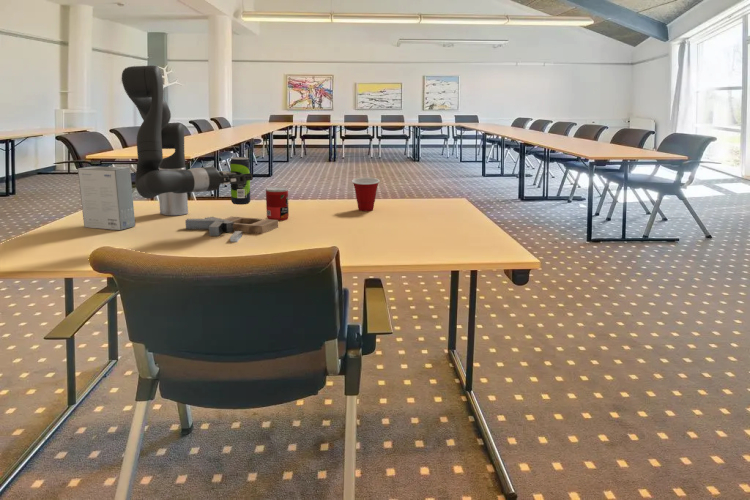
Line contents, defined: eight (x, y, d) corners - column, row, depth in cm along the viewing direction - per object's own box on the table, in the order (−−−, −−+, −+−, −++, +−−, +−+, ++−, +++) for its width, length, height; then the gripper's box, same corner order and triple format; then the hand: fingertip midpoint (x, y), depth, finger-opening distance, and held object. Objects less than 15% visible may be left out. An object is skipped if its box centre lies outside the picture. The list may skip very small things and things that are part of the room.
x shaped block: (213, 237, 199) (212, 227, 198) (182, 228, 211) (182, 219, 210) (239, 232, 206) (239, 223, 205) (208, 224, 218) (208, 215, 217)
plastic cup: (348, 211, 243) (348, 180, 240) (355, 206, 253) (355, 177, 250) (376, 213, 241) (376, 181, 238) (382, 208, 251) (382, 178, 248)
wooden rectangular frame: (214, 229, 209) (213, 222, 209) (231, 223, 219) (231, 216, 219) (262, 233, 204) (262, 226, 203) (278, 227, 214) (277, 220, 213)
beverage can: (254, 202, 211) (253, 157, 207) (242, 205, 205) (241, 159, 201) (238, 201, 213) (237, 156, 209) (227, 203, 208) (225, 158, 204)
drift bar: (236, 237, 200) (235, 231, 200) (242, 237, 200) (242, 231, 200) (230, 243, 193) (230, 236, 192) (237, 243, 193) (236, 236, 192)
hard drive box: (136, 226, 213) (131, 167, 208) (120, 231, 206) (115, 170, 201) (99, 223, 218) (93, 165, 213) (82, 227, 211) (76, 167, 206)
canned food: (284, 221, 224) (283, 190, 222) (263, 220, 226) (262, 189, 223) (291, 217, 231) (291, 187, 229) (271, 216, 233) (270, 186, 230)
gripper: (213, 169, 191) (258, 166, 203) (188, 165, 201) (233, 162, 213) (215, 194, 193) (259, 189, 205) (189, 189, 202) (233, 184, 214)
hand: (245, 175), depth 209 cm, fingers closed on beverage can, 6 cm apart
